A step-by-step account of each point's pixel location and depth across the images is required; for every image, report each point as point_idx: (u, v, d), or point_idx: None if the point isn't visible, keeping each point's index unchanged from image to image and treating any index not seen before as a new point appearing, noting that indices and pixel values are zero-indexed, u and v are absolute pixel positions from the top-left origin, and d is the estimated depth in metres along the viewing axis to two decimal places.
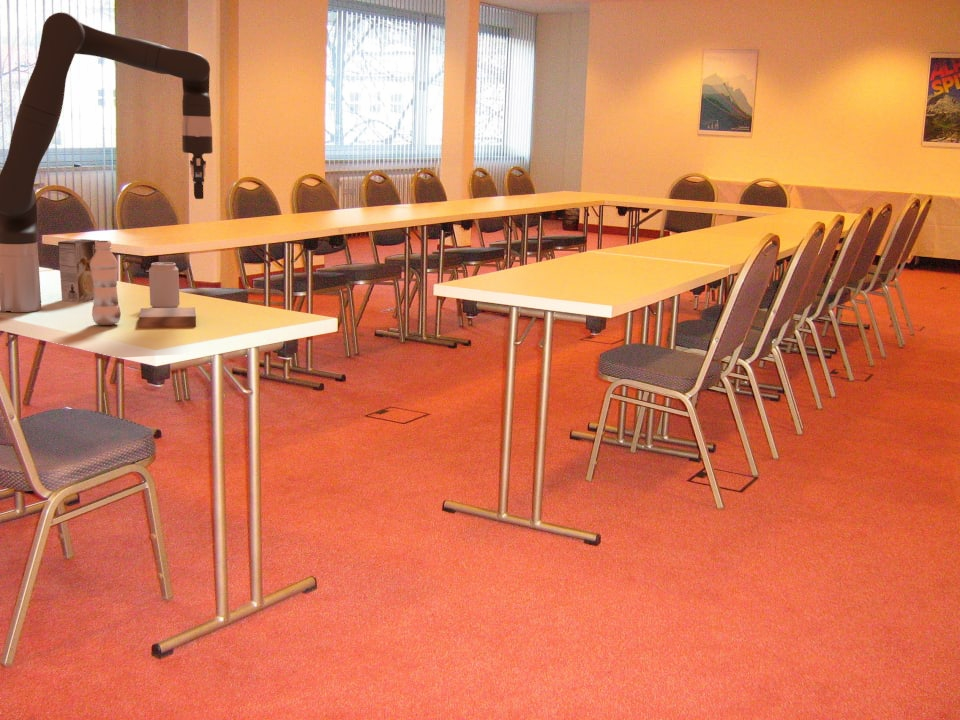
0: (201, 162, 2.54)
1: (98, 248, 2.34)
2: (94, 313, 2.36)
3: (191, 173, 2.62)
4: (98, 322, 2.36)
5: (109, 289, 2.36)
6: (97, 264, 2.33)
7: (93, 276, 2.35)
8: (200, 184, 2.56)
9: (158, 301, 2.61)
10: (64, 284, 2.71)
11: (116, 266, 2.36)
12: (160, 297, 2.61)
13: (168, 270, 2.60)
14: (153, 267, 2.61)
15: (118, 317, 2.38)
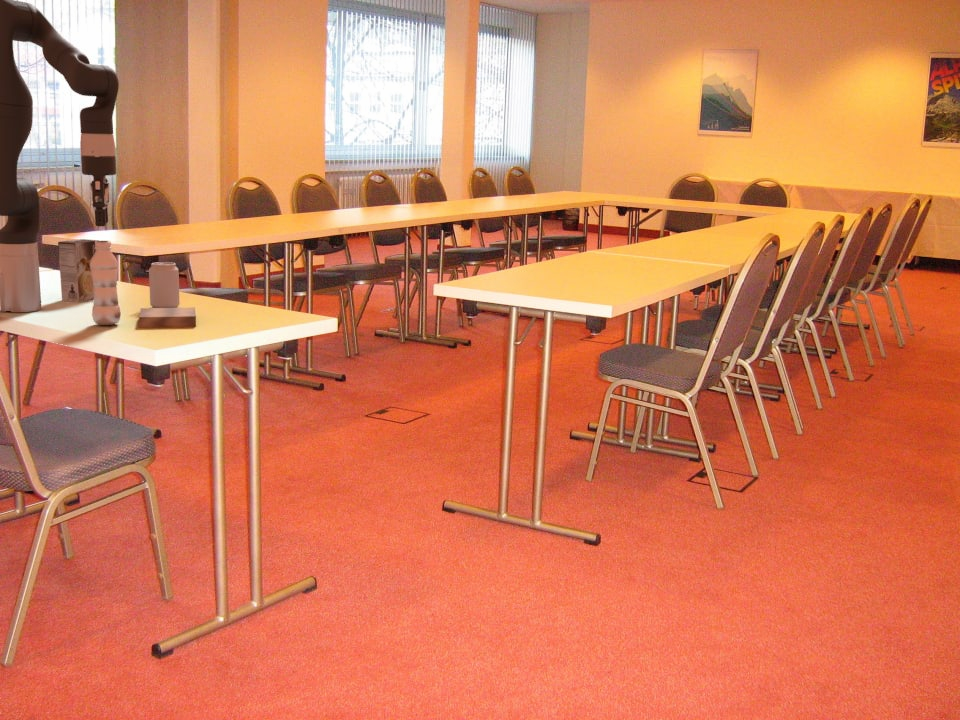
0: (101, 185, 2.26)
1: (98, 248, 2.34)
2: (94, 313, 2.36)
3: None
4: (98, 322, 2.36)
5: (109, 289, 2.36)
6: (97, 264, 2.33)
7: (93, 276, 2.35)
8: (101, 210, 2.29)
9: (159, 301, 2.61)
10: (64, 284, 2.71)
11: (116, 266, 2.36)
12: (160, 297, 2.61)
13: (168, 270, 2.60)
14: (153, 267, 2.61)
15: (118, 317, 2.38)
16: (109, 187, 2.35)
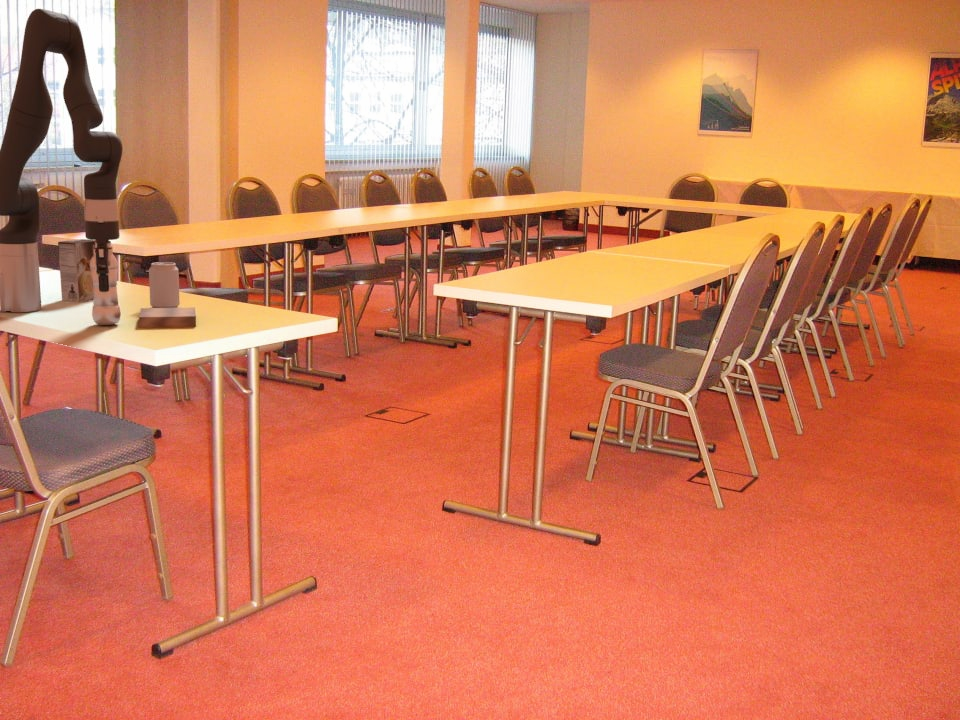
0: (104, 254, 2.29)
1: None
2: (94, 313, 2.36)
3: None
4: (98, 322, 2.36)
5: (109, 289, 2.36)
6: None
7: (93, 276, 2.35)
8: (105, 276, 2.33)
9: (159, 301, 2.61)
10: (64, 284, 2.71)
11: (116, 266, 2.36)
12: (160, 297, 2.61)
13: (168, 270, 2.60)
14: (153, 267, 2.61)
15: (118, 317, 2.38)
16: (112, 250, 2.38)
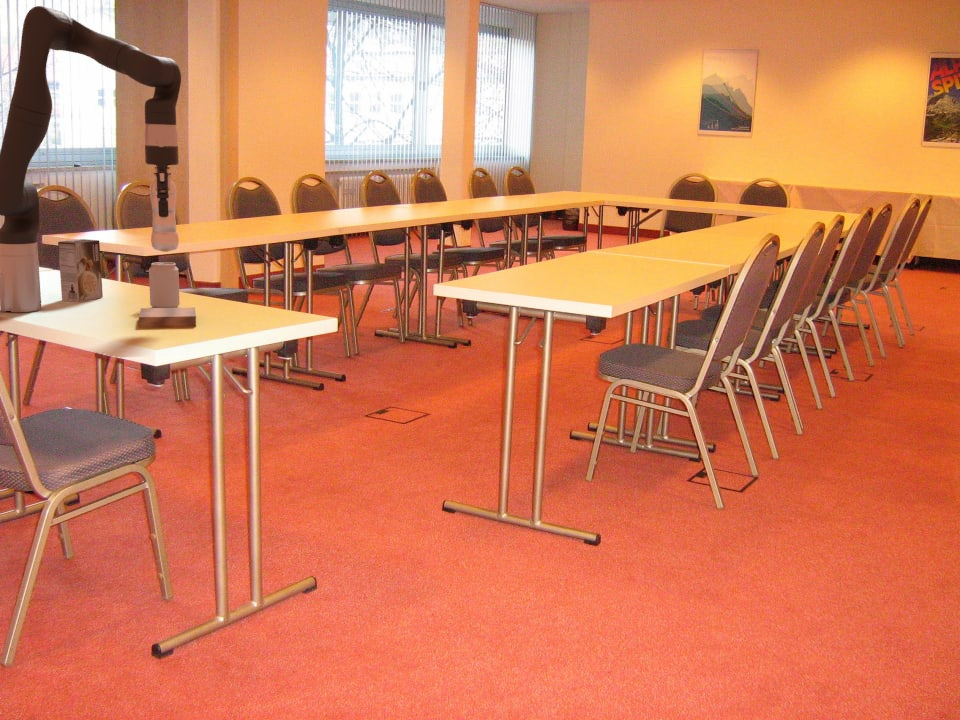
0: (165, 178, 2.32)
1: None
2: (153, 238, 2.38)
3: None
4: (157, 247, 2.38)
5: (168, 214, 2.38)
6: None
7: (153, 201, 2.37)
8: (164, 201, 2.35)
9: (159, 301, 2.61)
10: (64, 284, 2.71)
11: (175, 192, 2.38)
12: (160, 297, 2.61)
13: (168, 270, 2.60)
14: (153, 267, 2.61)
15: (177, 243, 2.40)
16: None
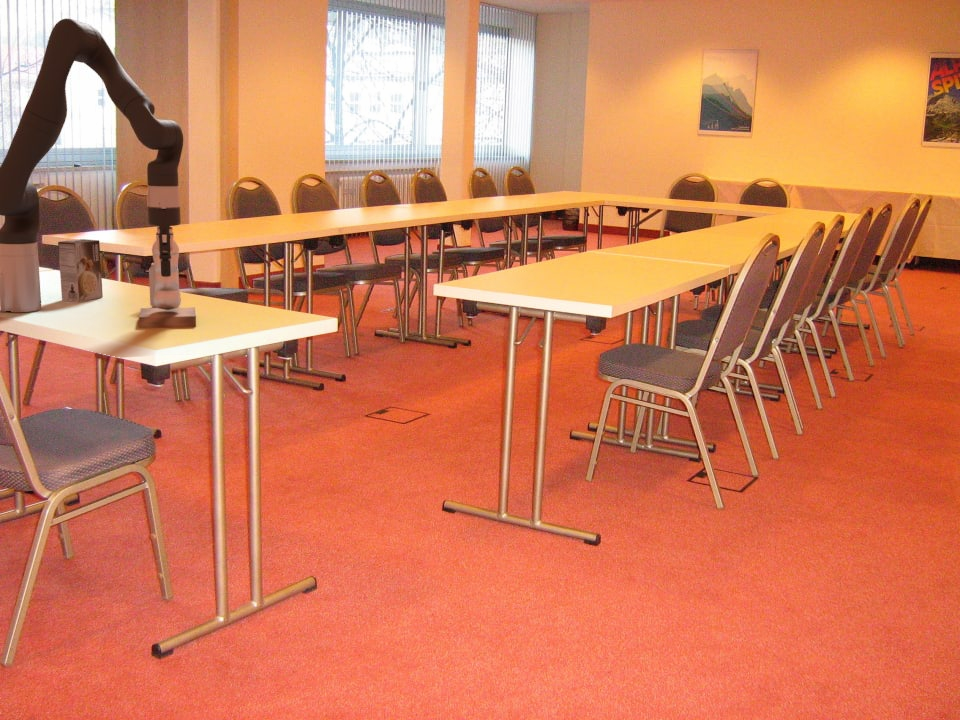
0: (167, 239, 2.35)
1: None
2: (156, 298, 2.41)
3: None
4: (160, 306, 2.42)
5: None
6: None
7: (155, 261, 2.40)
8: (167, 261, 2.38)
9: None
10: (64, 284, 2.71)
11: (177, 252, 2.41)
12: None
13: None
14: (153, 267, 2.61)
15: (179, 302, 2.43)
16: None
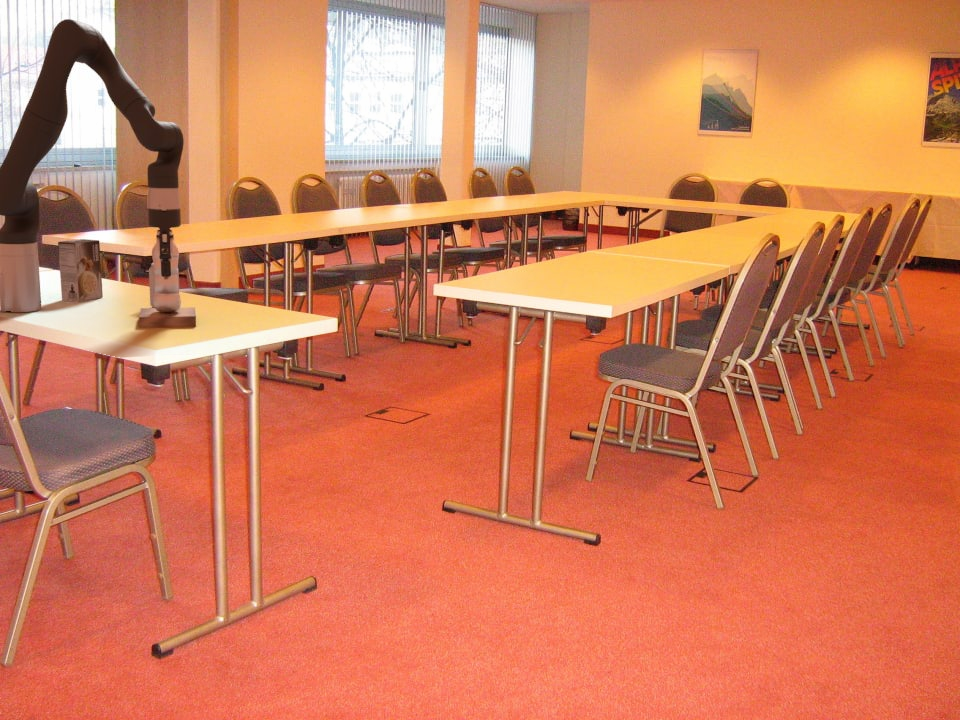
0: (168, 238, 2.34)
1: None
2: (156, 300, 2.41)
3: None
4: (160, 309, 2.42)
5: (170, 276, 2.41)
6: None
7: (155, 264, 2.40)
8: (167, 261, 2.37)
9: None
10: (64, 284, 2.71)
11: (177, 254, 2.41)
12: None
13: None
14: (153, 267, 2.61)
15: (179, 304, 2.44)
16: None
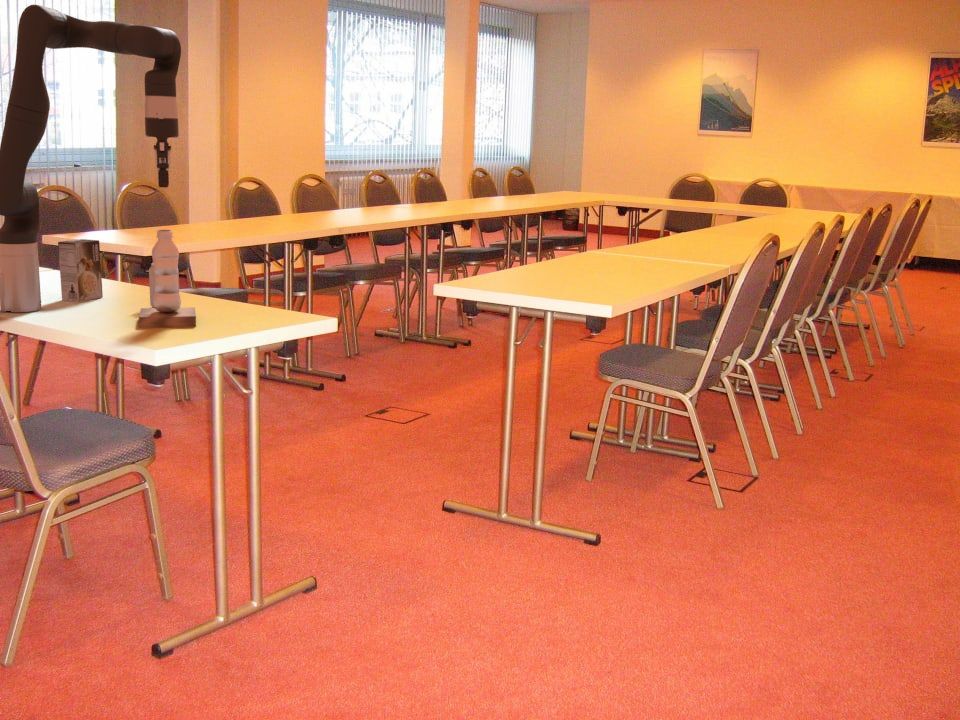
0: (165, 146, 2.30)
1: (160, 237, 2.39)
2: (156, 300, 2.41)
3: None
4: (160, 309, 2.42)
5: (170, 276, 2.41)
6: (159, 252, 2.39)
7: (155, 264, 2.40)
8: (164, 171, 2.32)
9: None
10: (64, 284, 2.71)
11: (177, 254, 2.41)
12: None
13: None
14: (153, 267, 2.61)
15: (179, 304, 2.44)
16: None
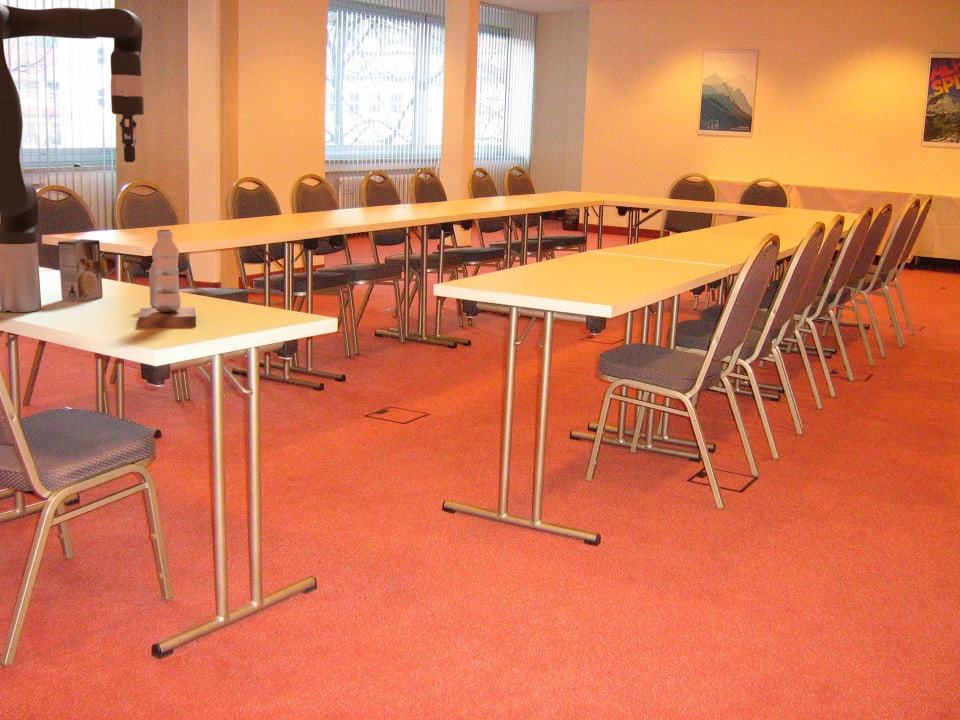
0: (130, 123, 2.42)
1: (160, 237, 2.39)
2: (156, 300, 2.41)
3: None
4: (160, 309, 2.42)
5: (170, 276, 2.41)
6: (159, 252, 2.39)
7: (155, 264, 2.40)
8: (130, 146, 2.44)
9: None
10: (64, 284, 2.71)
11: (177, 254, 2.41)
12: None
13: None
14: (153, 267, 2.61)
15: (179, 304, 2.44)
16: None
